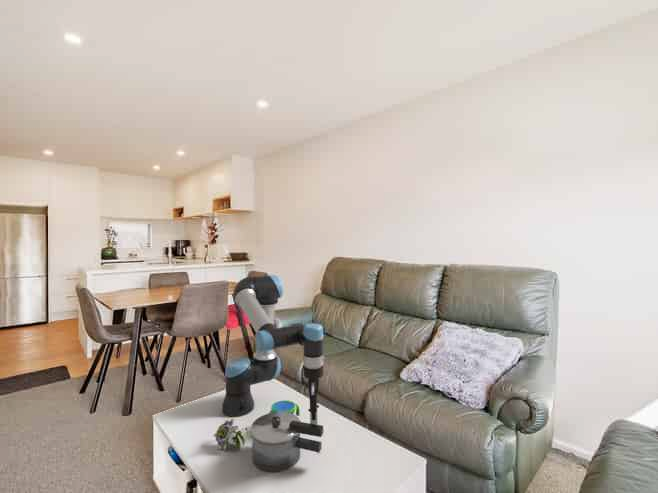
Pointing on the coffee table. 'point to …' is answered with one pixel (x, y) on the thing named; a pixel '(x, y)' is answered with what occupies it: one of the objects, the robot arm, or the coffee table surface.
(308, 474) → the coffee table surface
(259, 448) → the cooker pot
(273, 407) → the snack cup
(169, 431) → the coffee table surface
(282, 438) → the cooker lid
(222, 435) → the passion flower
